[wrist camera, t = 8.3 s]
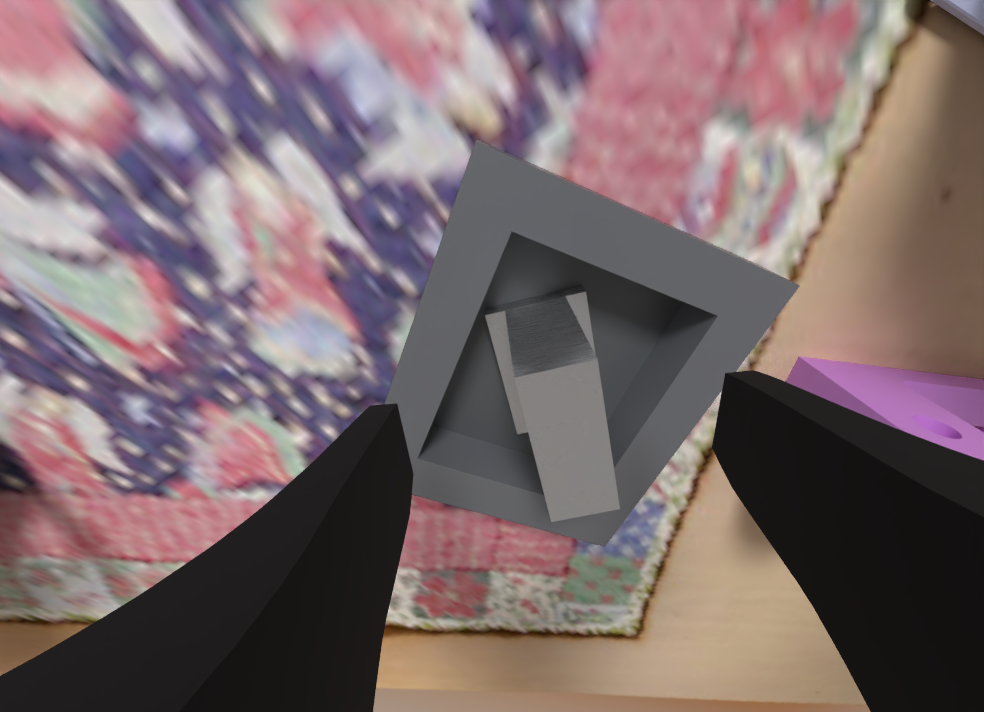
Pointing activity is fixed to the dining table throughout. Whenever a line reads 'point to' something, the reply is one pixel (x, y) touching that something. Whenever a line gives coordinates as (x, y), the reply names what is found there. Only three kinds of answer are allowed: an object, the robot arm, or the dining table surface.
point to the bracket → (902, 399)
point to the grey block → (557, 397)
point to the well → (615, 328)
